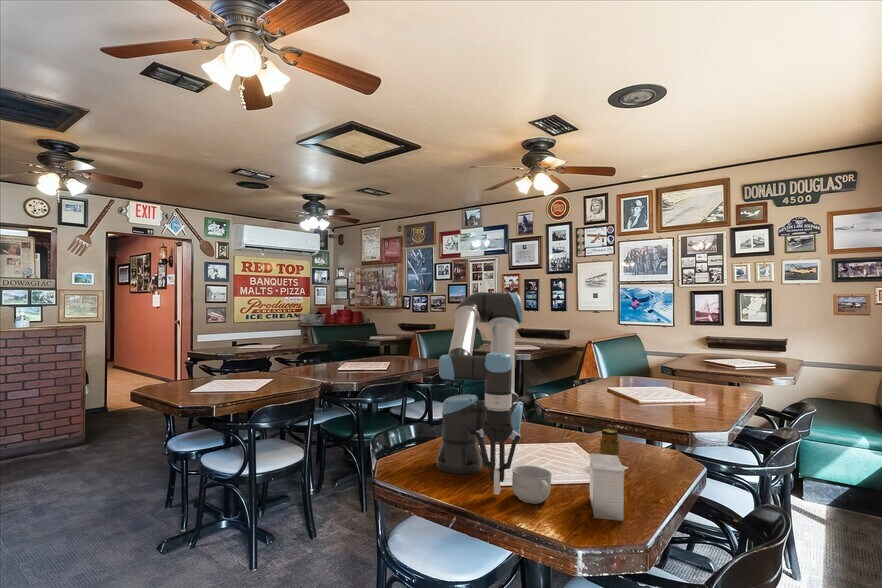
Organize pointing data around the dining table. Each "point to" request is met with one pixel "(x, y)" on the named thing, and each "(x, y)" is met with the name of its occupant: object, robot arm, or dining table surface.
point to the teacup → (531, 483)
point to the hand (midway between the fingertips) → (497, 492)
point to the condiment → (610, 443)
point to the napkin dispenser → (606, 486)
